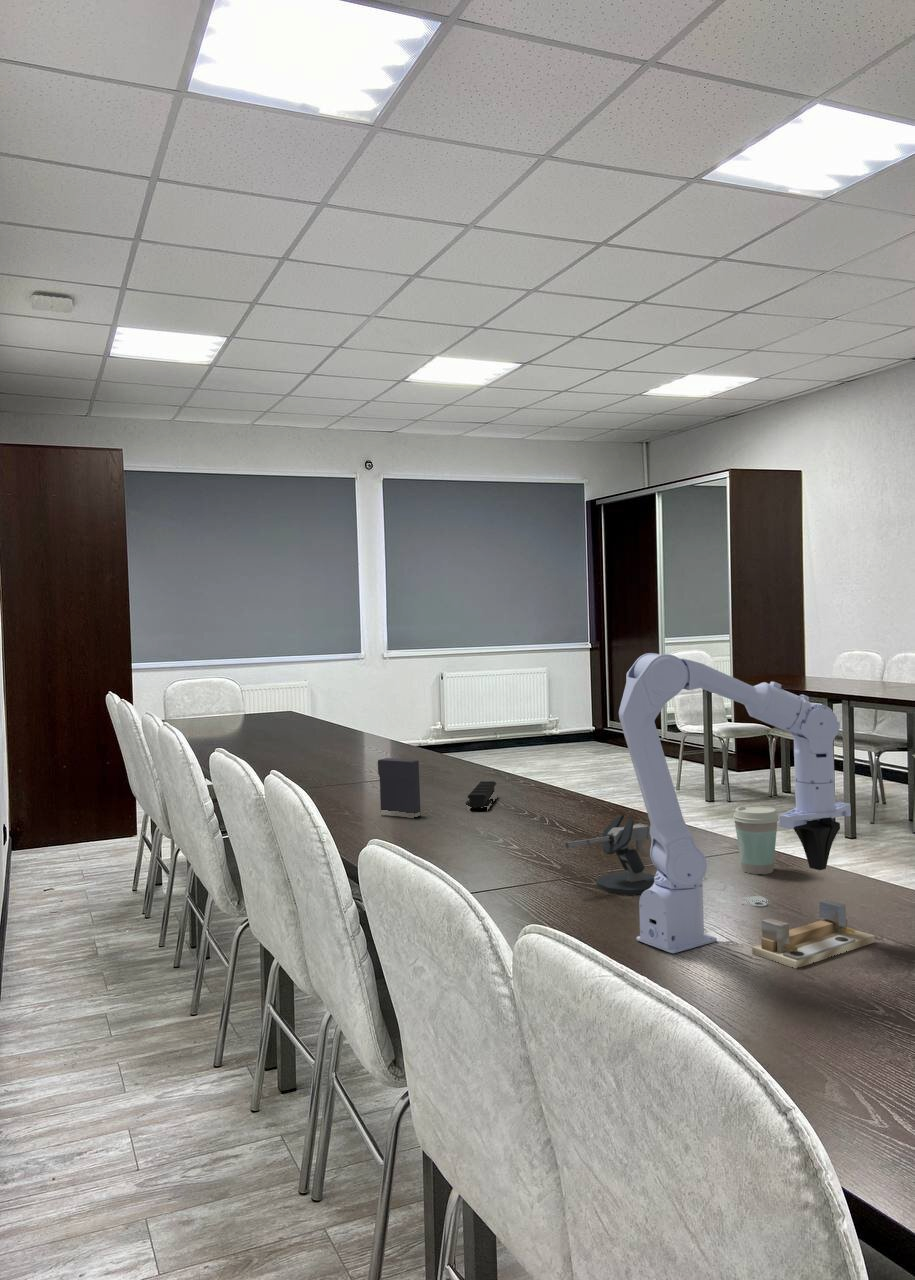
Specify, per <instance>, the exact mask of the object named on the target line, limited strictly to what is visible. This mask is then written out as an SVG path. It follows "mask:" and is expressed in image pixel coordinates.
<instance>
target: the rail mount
mask: <svg viewBox="0 0 915 1280" xmlns="http://www.w3.org/2000/svg"><path fill="white" fill-rule="evenodd" d="M496 785H497V782H496V781H494V780H493V781H492V780H490V781H488V780H486V781H485V780H483V781H482V780H481V781H479V783H478V784H477V785H476V786H475V787H474V789H472V791H470V793H469V794H467V798H468V800H466V802H465V806H466V805H468V806H470V807H484V806H489V804H490V803H491V801H492V800H491V799H490V800H489V798H490V797H491V795H492V794H493V792H495V787H496Z"/></svg>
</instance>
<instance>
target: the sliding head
mask: <svg viewBox="0 0 915 1280" xmlns="http://www.w3.org/2000/svg"><path fill="white" fill-rule="evenodd" d="M818 904H819V906H818V907H819V909H818V910H819V918H820V919H823V920H824V919H828V920H831V921H834V923H835V931H838V932H840V931H846V932H849V933H852V934H853V933H855V930H856V929H854V928H851V927H848V926H847V927H846V919H847V913H846V912H847V908H846V907H847V906H846V903H845V904H844V903H841V902H838V901H834V900H829V899H824V900H820V901H819V903H818Z"/></svg>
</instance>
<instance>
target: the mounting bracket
mask: <svg viewBox="0 0 915 1280" xmlns="http://www.w3.org/2000/svg"><path fill="white" fill-rule="evenodd" d="M749 897H750V898H749ZM736 898H737V899H738V898H739V900H740V899H741V901H742V898H743V900H744V899H745V901H742V903H743V902H744V903H746V904H747V902H748V901H749V902H750V905H749V904H748V905H747V906H751V907H755V908H767V907H768V904H769V903H768V902H767V903H765V902H766V899H767V898H766V897H763V896H760V895H753V896H752V895H751V896H742V897H736ZM731 899H732V900H733V898H731ZM732 900H731V901H732ZM739 900H738V901H739ZM746 900H747V902H746ZM752 900H753V902H752ZM756 900H757V901H756ZM758 900H759V901H758ZM762 900H763V901H765V902H762ZM768 900H769V899H767V901H768ZM741 901H740V902H741ZM754 901H755V902H754ZM760 901H761V902H760ZM749 902H748V903H749ZM740 904H741V903H740Z"/></svg>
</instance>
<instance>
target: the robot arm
mask: <svg viewBox="0 0 915 1280" xmlns="http://www.w3.org/2000/svg"><path fill="white" fill-rule="evenodd" d="M625 677H626V678H625V679H626V680H625V681H626V683H625V686H624V690H623V693H622V694H623V695H622V698H621V701H620V706H619V709H618V718H619V722H620V725H621V729H622V732H623V735H624V739H625V742H626V745H627V749H628V752H629V755H630V758H631V762H632V765H633V769H634V772H635V775H636V780H637V782H638V786H639V790H640V793H641V796H642V800H643V803H644V806H645V809H646V812H647V816H648V819H649V822H650V823H649V824H650V826H649V829H650V830H649V837H650V839H651V840H650V841H651V845H650V850H649V856H650V861H651V862H652V864H653V866H654V867H656V869H657V870H656V873H655V874H654V876H655V877H654V884H653V885H652V887H651V888H649V889H647V890H645V891H644V892H643V893H642V894H641V895H640V897H639V902H638V906H639V907H638V910H639V911H638V912H639V914H638V916H639V935H638V936H636V941H638V942H639V943H640V942H641V943H644V944H646V945H649V946H651V947H654V948H657V949H659V950H663V951H665V952H668V953H670V954H677V953H680V952H683V951H687V950H691V949H694V948H697V947H702V946H705V945H708V944H711V943H715V942H717V940H718V938H717V937H716V936H714V935H713V936H712V935H710V934H707V933H705V923H704V922H705V921H704V918H705V917H704V916H705V915H704V889H703V886H704V885H703V884H704V883H703V879H704V877H705V876H706V872H707V870H708V869H707V866H708V864H707V858H706V857H705V854H704V853H703V852H702V851H701V850H700V849H699V848H698V847H697V845H696V843H695V841H694V837H693V835H692V832H691V831H690V829H689V826H688V825H687V824H686V822H685V820H684V816H683V814H682V813H683V812H682V810H681V806H680V803H679V801H678V797H677V794H676V790H675V787H674V786H675V785H674V783H673V779H672V776H671V773H670V768H669V766H668V763H667V759H666V755H665V753H664V749H663V745H662V743H661V738H660V735H659V733H658V730H657V726H656V723H655V721H656V719H657V718H658V716H659V714H660V713H661V712H662V710H663V707H664V706H665V704H667V703H668V702H669V701H670V700H672V699H673V698H675V697H676V696H677V695H679V693H680V692H682V690H685V691H693V690H698V689H701V690H704V691H707V692H710V693H712V694H715V695H718V696H720V697H723V698H725V699H728V700H731V701H732V702H733V701H734V702H737V703H740V704H742V705H744V707H745V709H746V712H747V713H748V716H749V717H751V718H754V719H756V720H758V721H760V722H763V723H765V724H768V725H771V726H773V727H774V728H775V727H776V728H777V729H780V730H782V731H785V732H789V733H790V734H791V735H792V736H793V757H794V759H793V761H794V763H793V764H794V793H795V794H794V795H795V807H794V808H792V809H791V810H788V811H787V812H784V813H781V814H779V815H778V819H779V821H778V822H779V828H783V829H788V830H794V832H795V834H796V835H797V837H798V839H799V840H800V843H801V845H802V848H803V850H804V853H805V857H806V860H807V863H808V866H809V869H812V870H816V871H823V870H826V869H827V865H828V860H829V857H830V852H831V848H832V845H833V842H834V841H835V839H836V836H837V835H838V832H840V829H841V822H839V821H833V819H836V818H841V817H845V818H846V817H851V815H852V811H851V810H852V809H851V803H847V802H841V801H838V802H836V793H835V792H836V788H835V787H836V786H835V760H834V759H835V757H834V740H835V738H836V737H837V735H838V733H839V731H840V728H841V722H840V721H838V719H837V716H836V713H835V712H833V709H832V708H830V707H829V706H827V705H825V704H821V703H815V702H810V700H809V699H810V697H809V696H808V695H805V694H799V695H797V694H795V693H792V692H790V691H787V690H784V689H783V688H782V684H781V683H778V682H776V681H770V682H769V683H768V682H765V681H763V682H760V683H758V684H756V685H751V684H748V683H746V682H744V681H742V680H740V679H738V678H736V677H733V676H731V675H728V674H726V673H725V672H723V671H719V670H718V669H715V668H713V667H711V666H709V665H706V664H704V663H702V662H698V661H694V660H691V659H686V658H679V657H678V656H676V655H673V654H670V653H669V654H668V653H664V654H659V653H656V652H649V653H648V652H647V653H644V654H642V655H640V656H639V657H638V658H637V659H636V660H635V661H634V663H633V664H632V666H631V667H630V668H629V670H628V671H627V672H626V676H625Z"/></svg>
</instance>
